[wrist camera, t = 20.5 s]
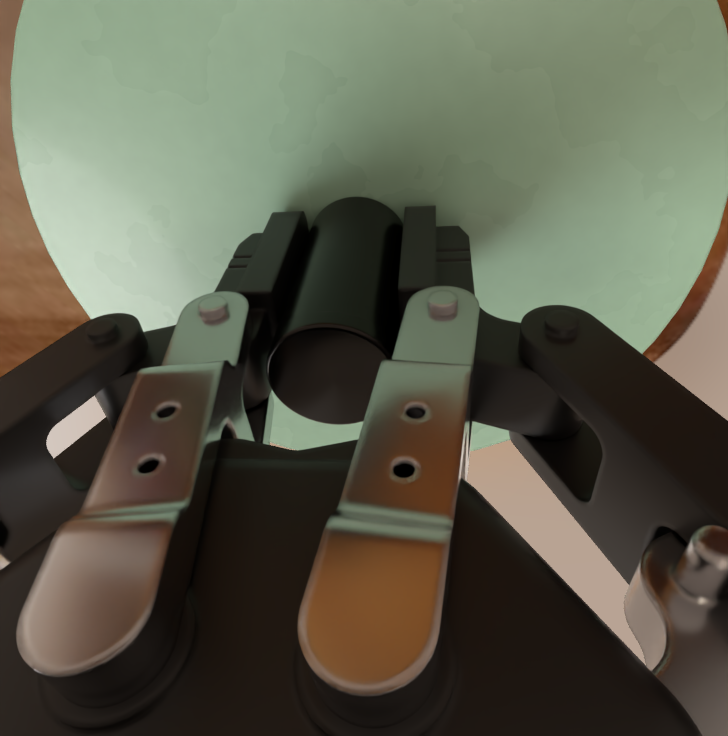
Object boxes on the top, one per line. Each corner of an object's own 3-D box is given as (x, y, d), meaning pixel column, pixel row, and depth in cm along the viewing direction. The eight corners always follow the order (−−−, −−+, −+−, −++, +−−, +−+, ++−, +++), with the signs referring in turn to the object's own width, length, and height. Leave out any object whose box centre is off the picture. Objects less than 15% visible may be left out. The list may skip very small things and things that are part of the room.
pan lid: (162, 435, 21) (86, 592, 16) (-122, -176, 10) (-559, -214, 6) (629, 439, 19) (692, 620, 14) (868, -318, 8) (1398, -549, 4)
